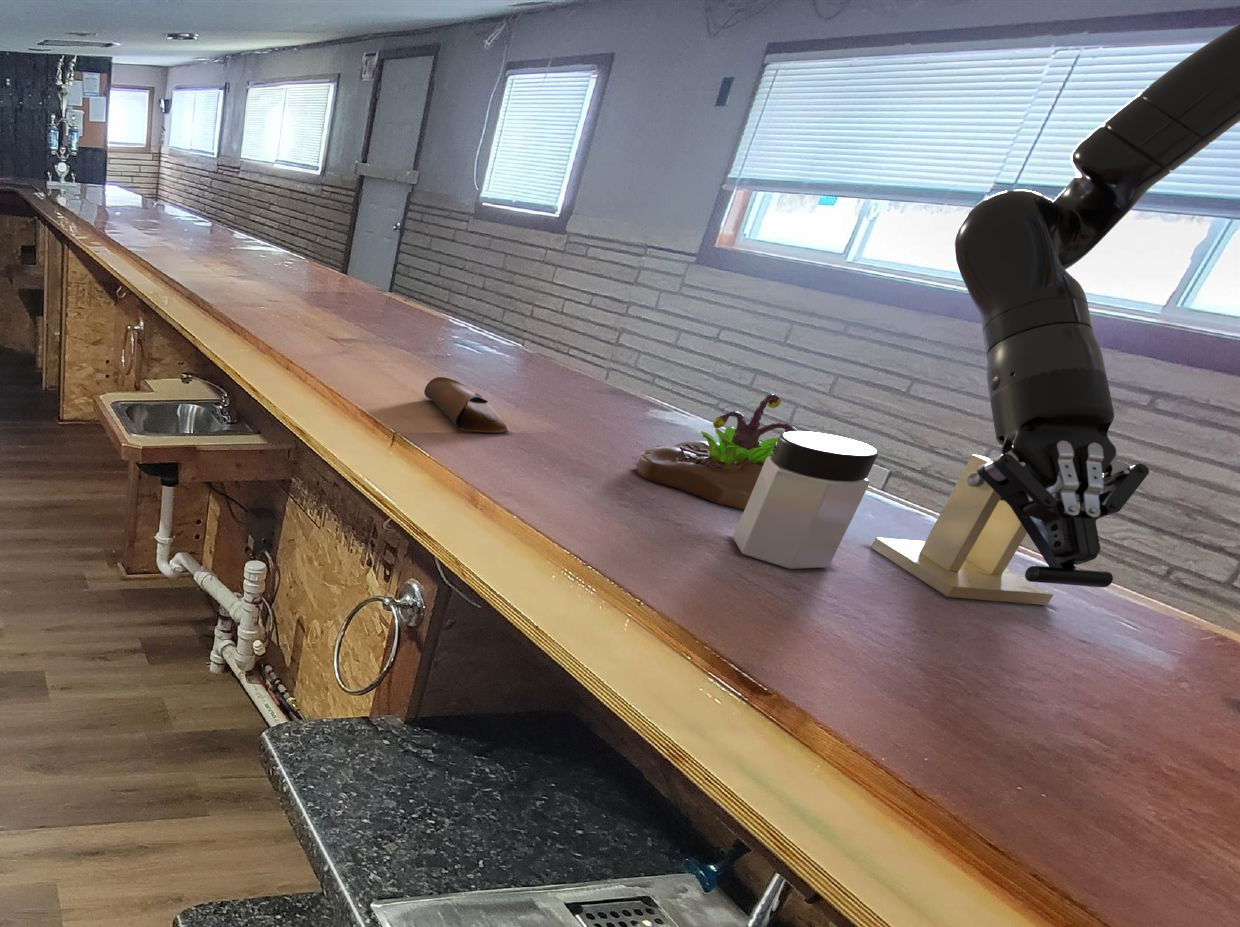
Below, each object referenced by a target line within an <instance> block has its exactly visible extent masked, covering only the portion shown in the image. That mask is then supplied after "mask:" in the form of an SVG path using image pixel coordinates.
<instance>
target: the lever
mask: <svg viewBox="0 0 1240 927" xmlns="http://www.w3.org/2000/svg"><path fill="white" fill-rule="evenodd" d="M1019 492H1020V493H1021V494H1022V495H1023V496H1024V497H1025V498H1026V499H1027V500H1028V496H1027V494H1026V492H1024V491H1019ZM1000 500H1003V501H1005V500H1004V499H1003V498H1002V497H1001V498H1000ZM1028 501H1029V500H1028ZM1029 502H1030V501H1029ZM1010 507H1011V506H1010ZM1011 508H1012V507H1011ZM1012 510H1013V511H1014V513H1015V515H1016V516H1017V518H1018V519H1019V521H1020V522H1021V524H1022V525H1023V527H1024V529H1025V530H1026V532H1027V535H1028V537H1029V538H1030V539H1031V541H1032V543H1033V544H1034V546H1035V548H1036V549H1037V551H1038V552H1039V554H1040V555H1041V556H1042V558H1043V559H1044V561H1045V562H1046V565H1047V566H1045V565H1031V566H1029V567H1027V568H1026V570H1025V572H1024V578H1025V579H1027V580H1028V581H1030V582H1032V583H1043V584H1054V585H1067V586H1077V587H1079V586H1080V587H1090V588H1107V587H1109V586H1110V585H1111V584H1112V583H1113V580H1114V576H1113V574H1112V573H1111V572H1110V571H1107V570H1095V569H1081V568H1077V567H1076V566H1075V565H1074V564H1061V563H1057V562H1056V559H1055V557H1054V556H1053V555H1052V553H1051V551H1050V545H1049V540H1048V535H1047V529H1046V526H1045V525H1043V524H1042V523H1041V522H1040V520H1039V519H1037V518H1035V517H1032V516H1030V517H1027V518H1024V517H1021V516H1020V515H1019V514H1018V513H1017V512H1016V511H1015V510H1014V509H1013V508H1012Z"/></svg>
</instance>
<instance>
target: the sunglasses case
mask: <svg viewBox="0 0 1240 927" xmlns="http://www.w3.org/2000/svg"><path fill="white" fill-rule="evenodd" d="M423 391H424V392H423V394H424V397H426V398H427V399H429V400H430V401H432V402H434V403H435V404H436V406H438V407H439V408H440V409H441V410H442V411H443V412H444V414H446V416H447V417H448V419H450V420H451V421H452V423H453V424H455V425H456V426H457V429H458V430H459V431H460V432H467V433H475V434H505V433H509V428H508V426H507V424H506V423H505V421H504V420H503V419H502V418H501V416H500V415H499V414H498V412H497V411H496V410H495V409H494V408H493V407H491V406H490V404H488V402H489V400H488V399H487V398H486V397H485V396H483V395H482V394H480V393H479V392H477V391H475V390H474V389H472V388H470V387H469V386H468V385H466V384H464V383H462V382H460V381H458V380H455V379H452V378H449V377H444V376H438V377H437V376H436V377H434V378H432V379H431V380H430V381H429V382H428V383H427V384H426V385H425V387H424V390H423Z"/></svg>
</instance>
